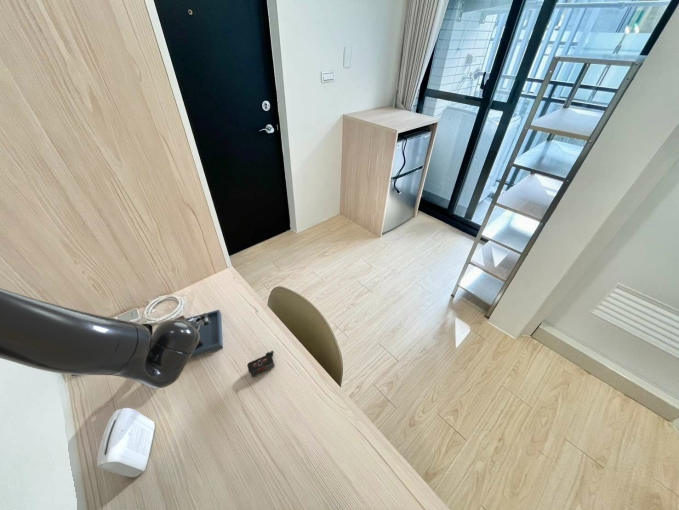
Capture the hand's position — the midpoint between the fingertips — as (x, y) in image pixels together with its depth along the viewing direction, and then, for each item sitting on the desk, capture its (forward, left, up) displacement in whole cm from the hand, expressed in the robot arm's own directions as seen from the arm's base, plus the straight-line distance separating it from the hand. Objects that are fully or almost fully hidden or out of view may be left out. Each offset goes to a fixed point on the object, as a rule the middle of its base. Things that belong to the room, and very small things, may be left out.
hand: (182, 328), depth 74 cm
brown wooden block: (0, 0, -6) cm, 6 cm away
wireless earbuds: (+19, -14, -7) cm, 25 cm away
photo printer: (-9, -24, -7) cm, 27 cm away
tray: (0, +1, -6) cm, 6 cm away
